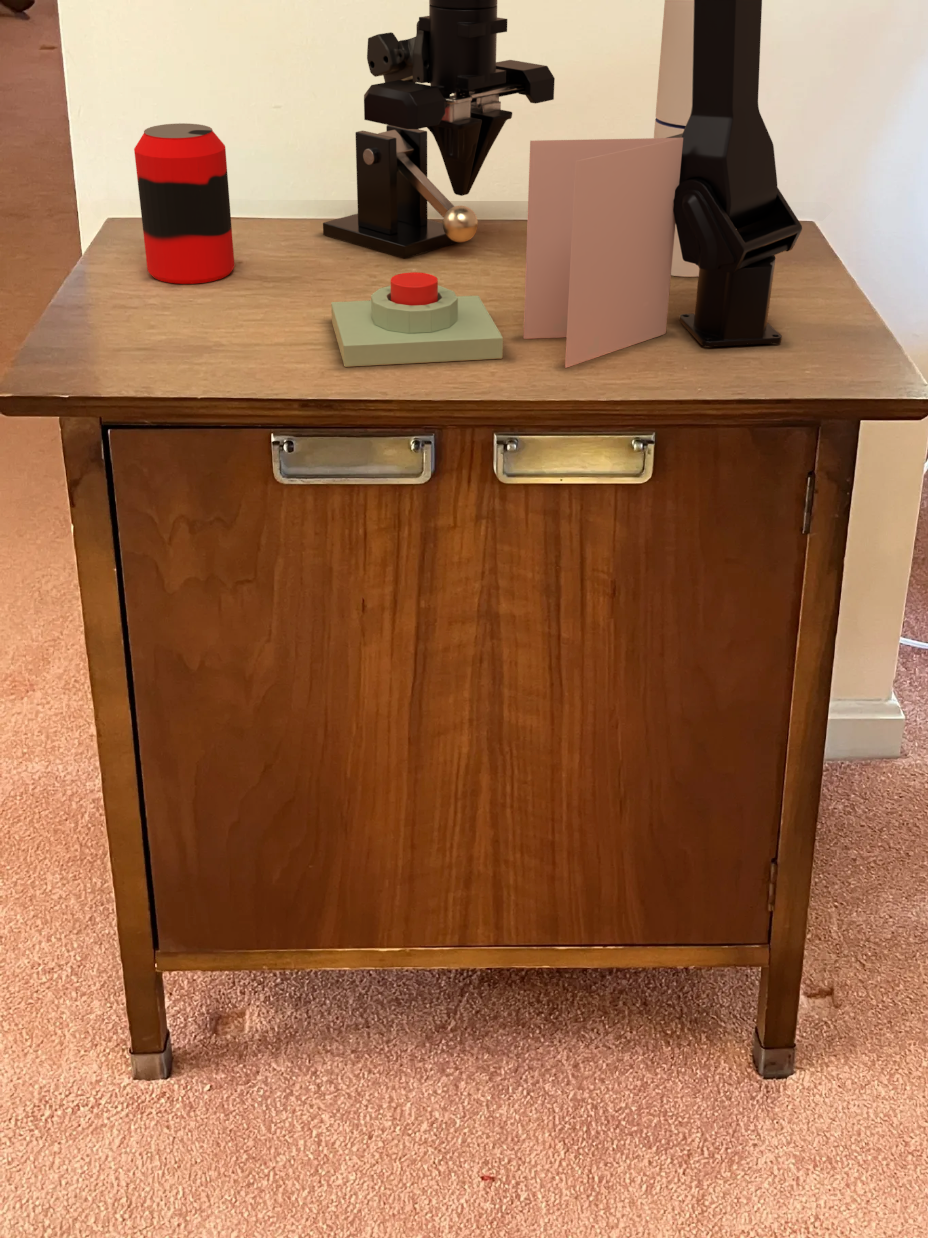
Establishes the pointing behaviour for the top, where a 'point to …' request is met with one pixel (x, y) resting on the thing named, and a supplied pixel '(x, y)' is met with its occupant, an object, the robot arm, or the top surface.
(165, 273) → the soda can
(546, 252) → the greeting card
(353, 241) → the switch bracket
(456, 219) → the lever
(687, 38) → the cylindrical container
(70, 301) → the top surface
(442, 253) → the top surface
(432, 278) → the button
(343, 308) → the button housing
